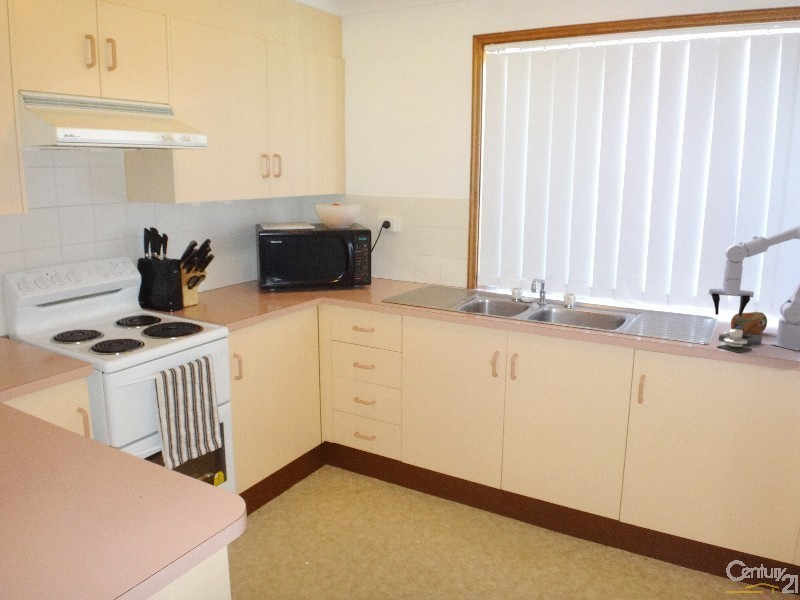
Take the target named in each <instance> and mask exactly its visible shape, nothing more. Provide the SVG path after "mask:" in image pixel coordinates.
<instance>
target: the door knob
mask: <svg viewBox="0 0 800 600" xmlns="http://www.w3.org/2000/svg"><path fill="white" fill-rule="evenodd" d="M729 333H730V335H729V337H727V338H724V341H723V342H724V343H726V344H727V347H729V348H735V349H741V348H742V347H743V344H747V340H745V339H742V335H743V330H740V329H731V328H730V329H729Z"/></svg>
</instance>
